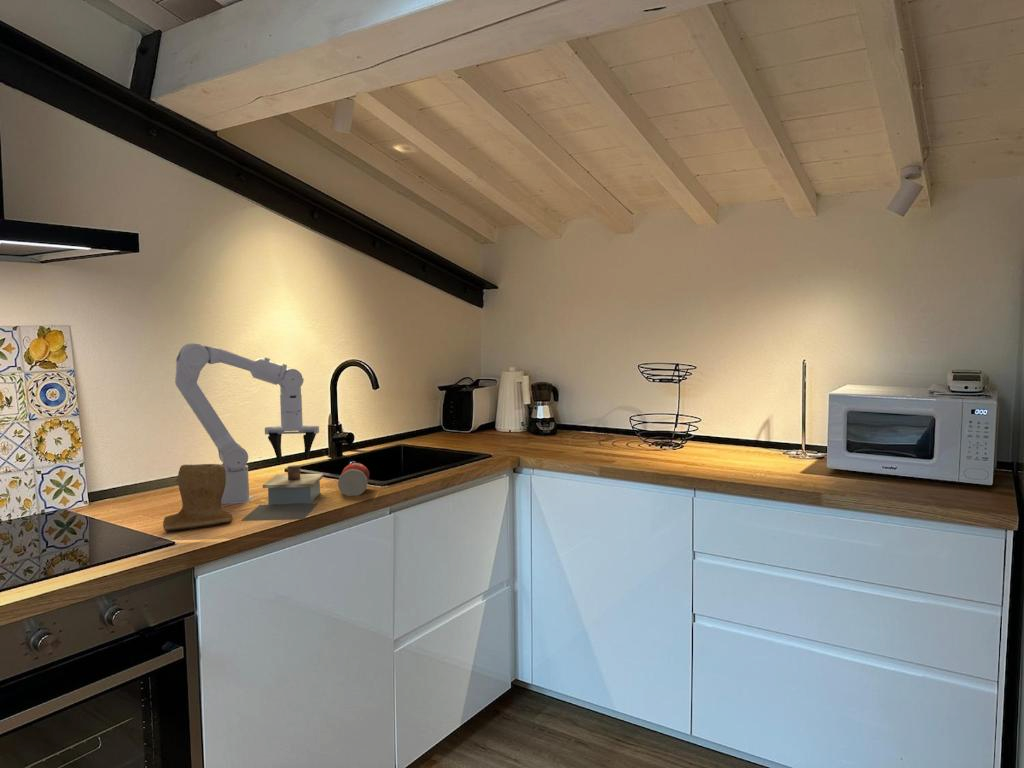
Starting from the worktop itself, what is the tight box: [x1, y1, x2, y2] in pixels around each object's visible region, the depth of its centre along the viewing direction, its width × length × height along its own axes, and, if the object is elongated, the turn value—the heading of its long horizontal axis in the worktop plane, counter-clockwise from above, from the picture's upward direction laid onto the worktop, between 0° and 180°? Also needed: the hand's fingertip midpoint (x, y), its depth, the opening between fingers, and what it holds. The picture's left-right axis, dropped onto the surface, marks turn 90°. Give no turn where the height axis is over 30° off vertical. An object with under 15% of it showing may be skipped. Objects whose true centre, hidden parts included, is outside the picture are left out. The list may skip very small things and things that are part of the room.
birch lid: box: [262, 464, 325, 489], centre depth 186 cm, size 13×13×4 cm
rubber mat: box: [240, 502, 318, 522], centre depth 173 cm, size 15×15×1 cm
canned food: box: [337, 462, 370, 497], centre depth 194 cm, size 8×8×11 cm
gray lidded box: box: [267, 480, 321, 505], centre depth 186 cm, size 11×11×5 cm
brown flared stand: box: [162, 463, 233, 532], centre depth 162 cm, size 15×12×15 cm
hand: (293, 459), depth 193 cm, fingers open, 7 cm apart
